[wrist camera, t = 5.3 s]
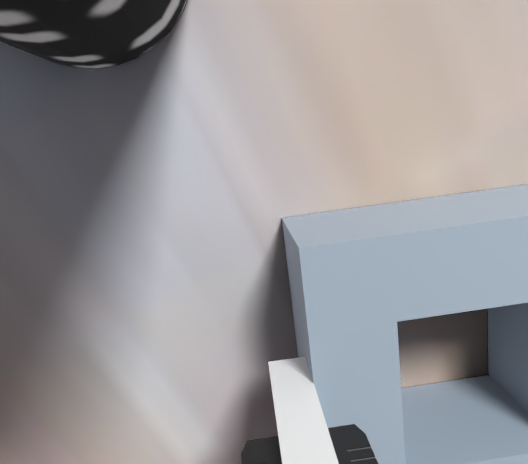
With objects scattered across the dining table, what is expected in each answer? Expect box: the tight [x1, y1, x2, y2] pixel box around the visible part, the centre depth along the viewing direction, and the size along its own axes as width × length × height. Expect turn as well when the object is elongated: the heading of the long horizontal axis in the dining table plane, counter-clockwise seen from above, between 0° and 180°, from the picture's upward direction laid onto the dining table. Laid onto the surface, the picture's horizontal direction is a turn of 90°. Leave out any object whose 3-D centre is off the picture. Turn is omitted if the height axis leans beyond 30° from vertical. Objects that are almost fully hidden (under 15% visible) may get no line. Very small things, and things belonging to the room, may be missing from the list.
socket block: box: [282, 184, 528, 464], centre depth 18 cm, size 12×12×5 cm
